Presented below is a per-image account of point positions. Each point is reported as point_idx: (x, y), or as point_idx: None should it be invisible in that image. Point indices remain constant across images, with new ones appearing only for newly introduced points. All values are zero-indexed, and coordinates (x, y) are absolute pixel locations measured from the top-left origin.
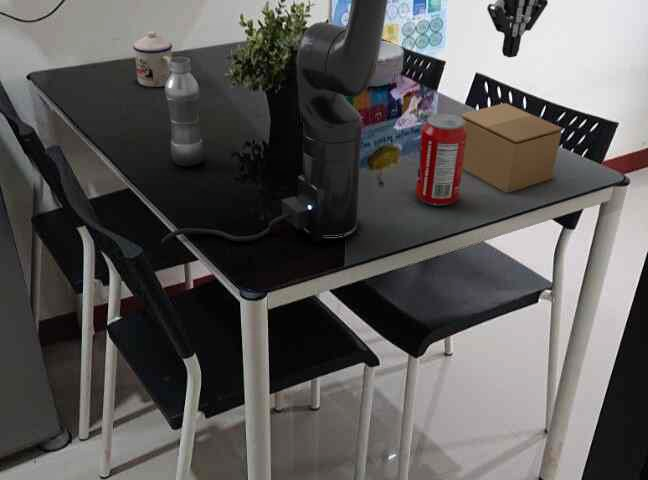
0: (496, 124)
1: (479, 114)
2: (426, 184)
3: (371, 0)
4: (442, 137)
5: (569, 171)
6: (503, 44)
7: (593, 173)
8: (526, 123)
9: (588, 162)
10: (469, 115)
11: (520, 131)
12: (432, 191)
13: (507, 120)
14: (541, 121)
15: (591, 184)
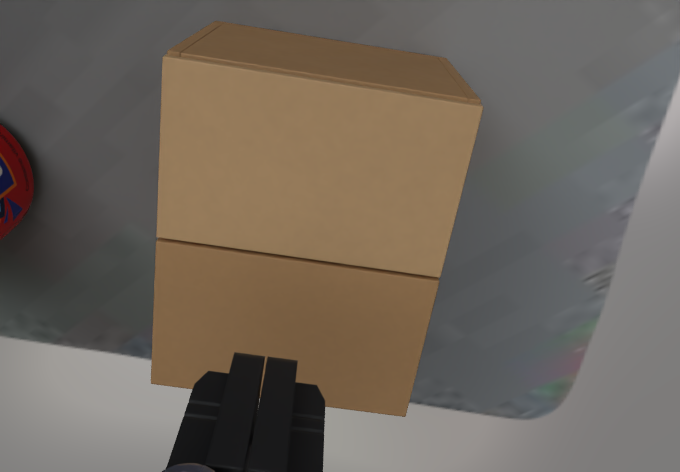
0: (215, 244)
1: (241, 122)
2: None
3: None
4: None
5: (483, 309)
6: (185, 418)
7: (524, 357)
8: (330, 316)
9: (593, 310)
10: (187, 99)
11: (238, 346)
12: None
13: (293, 248)
14: (400, 340)
15: (448, 387)
